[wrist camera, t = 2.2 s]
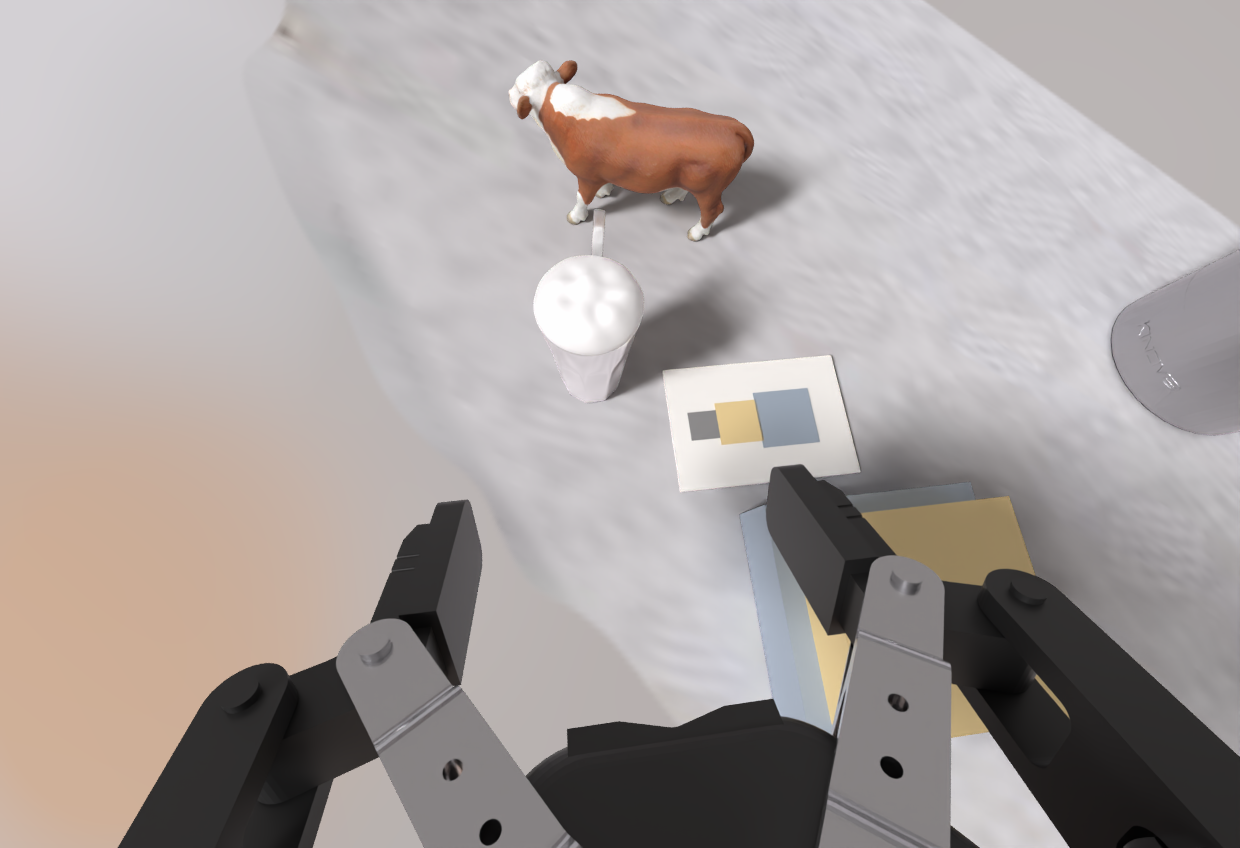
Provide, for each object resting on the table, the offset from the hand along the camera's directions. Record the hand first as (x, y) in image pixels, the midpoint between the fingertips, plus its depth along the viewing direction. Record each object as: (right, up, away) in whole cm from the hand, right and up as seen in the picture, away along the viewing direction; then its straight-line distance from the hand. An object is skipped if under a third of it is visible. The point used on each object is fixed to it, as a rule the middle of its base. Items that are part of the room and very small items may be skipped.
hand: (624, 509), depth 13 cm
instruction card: (+8, +2, +15) cm, 17 cm away
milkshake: (-2, +5, +15) cm, 16 cm away
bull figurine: (0, +16, +19) cm, 25 cm away
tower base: (+12, -7, +12) cm, 18 cm away
